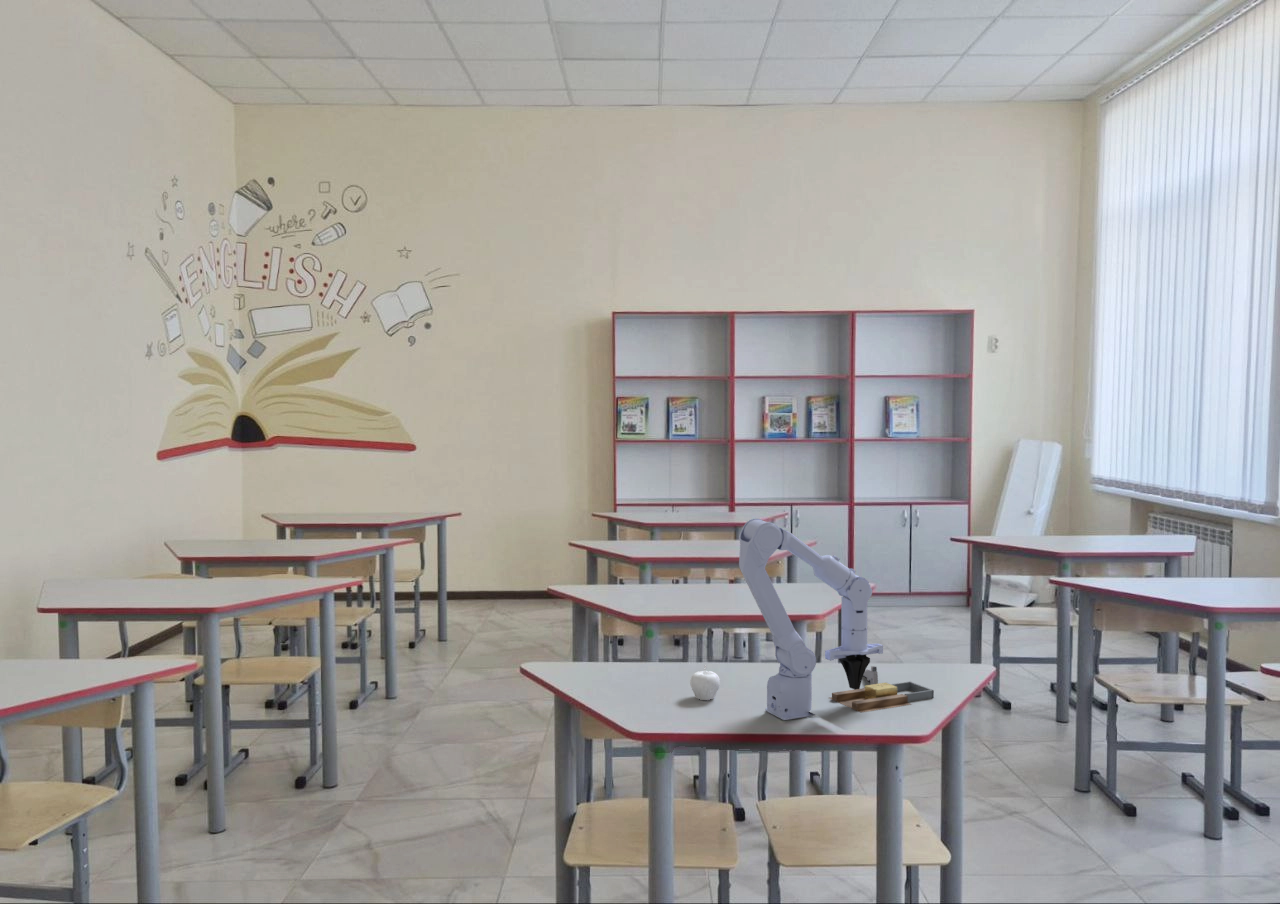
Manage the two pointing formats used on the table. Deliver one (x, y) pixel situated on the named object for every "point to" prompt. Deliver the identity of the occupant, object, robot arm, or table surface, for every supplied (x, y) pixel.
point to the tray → (919, 690)
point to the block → (879, 690)
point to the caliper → (871, 675)
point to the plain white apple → (705, 684)
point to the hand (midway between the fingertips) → (854, 688)
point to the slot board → (868, 700)
